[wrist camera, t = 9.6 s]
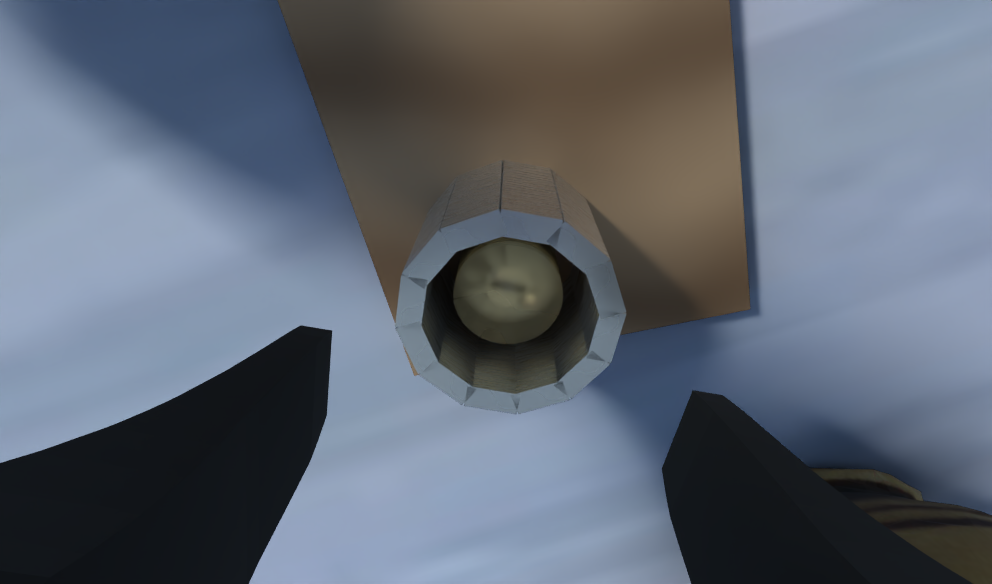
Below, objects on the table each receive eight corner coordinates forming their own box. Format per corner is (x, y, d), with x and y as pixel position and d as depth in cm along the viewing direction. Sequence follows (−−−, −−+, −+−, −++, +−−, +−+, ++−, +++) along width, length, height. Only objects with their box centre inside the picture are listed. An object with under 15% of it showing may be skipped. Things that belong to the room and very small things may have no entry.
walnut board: (190, -279, 14) (168, -299, 13) (682, -458, 13) (696, -494, 12) (418, 361, 22) (414, 375, 21) (739, 296, 21) (750, 309, 20)
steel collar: (436, 147, 18) (410, 192, 13) (615, 180, 18) (650, 235, 13) (415, 308, 20) (387, 393, 16) (573, 335, 20) (590, 426, 16)
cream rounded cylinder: (452, 217, 19) (439, 259, 15) (544, 196, 18) (550, 234, 15) (476, 299, 20) (469, 352, 17) (562, 280, 19) (572, 332, 16)
